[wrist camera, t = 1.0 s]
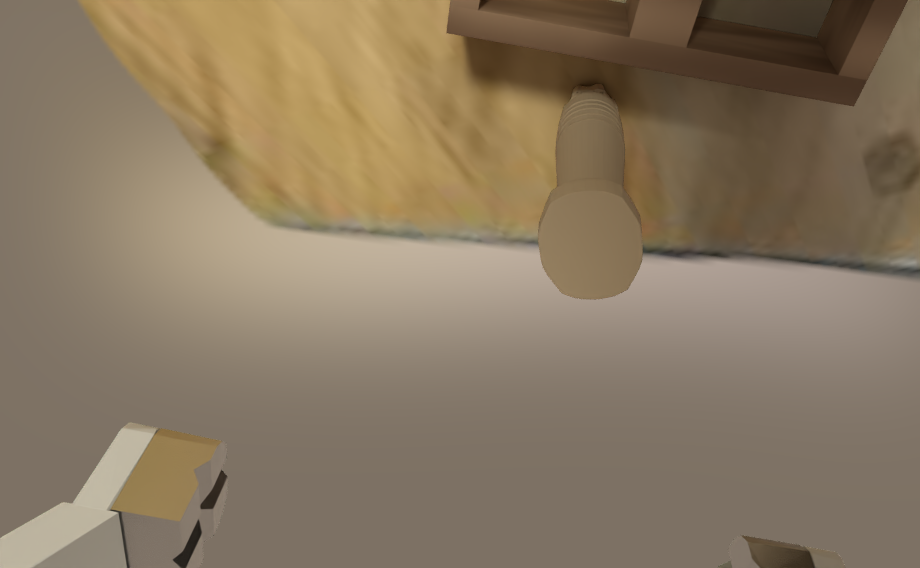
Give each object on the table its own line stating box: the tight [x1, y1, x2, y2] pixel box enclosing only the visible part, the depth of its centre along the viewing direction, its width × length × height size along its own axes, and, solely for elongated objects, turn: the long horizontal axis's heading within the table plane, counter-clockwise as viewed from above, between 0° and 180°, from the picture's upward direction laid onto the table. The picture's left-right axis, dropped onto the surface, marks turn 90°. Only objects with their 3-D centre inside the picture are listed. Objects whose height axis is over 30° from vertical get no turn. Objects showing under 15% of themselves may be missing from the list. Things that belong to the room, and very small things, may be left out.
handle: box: [538, 83, 643, 299], centre depth 42 cm, size 5×6×15 cm
